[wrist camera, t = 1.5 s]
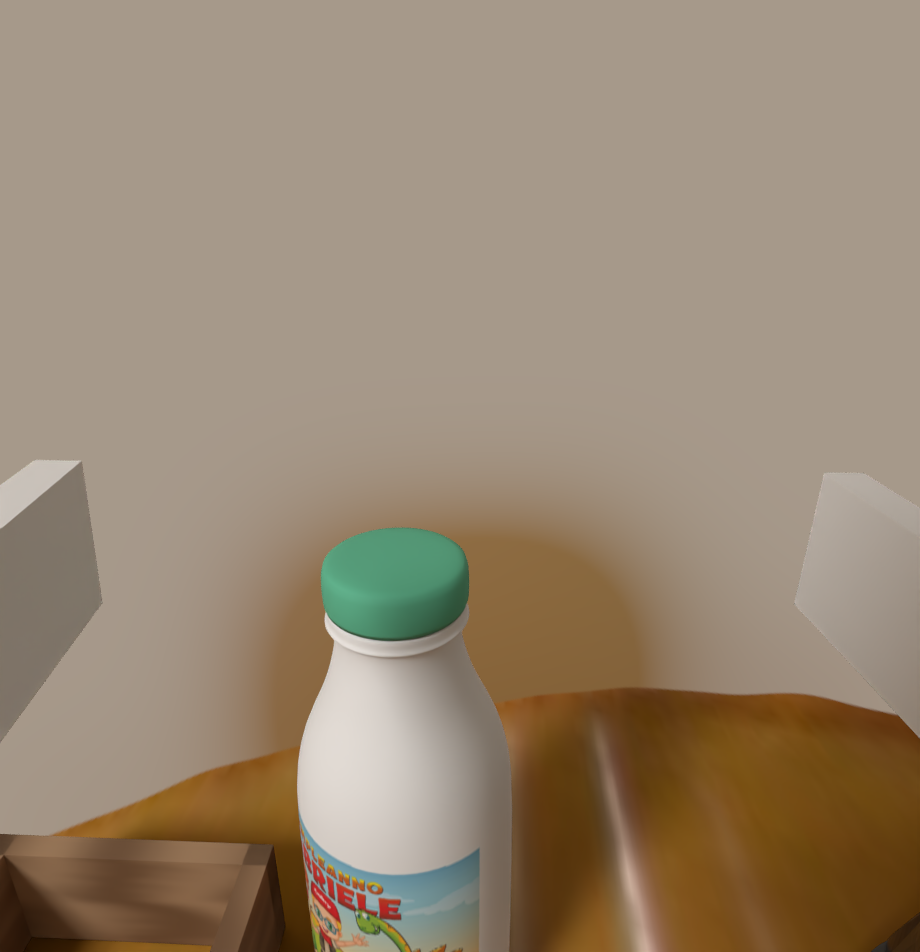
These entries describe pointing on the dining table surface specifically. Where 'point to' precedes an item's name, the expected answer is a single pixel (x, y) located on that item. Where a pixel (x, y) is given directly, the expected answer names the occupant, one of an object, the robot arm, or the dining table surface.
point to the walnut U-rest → (139, 892)
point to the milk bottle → (404, 760)
